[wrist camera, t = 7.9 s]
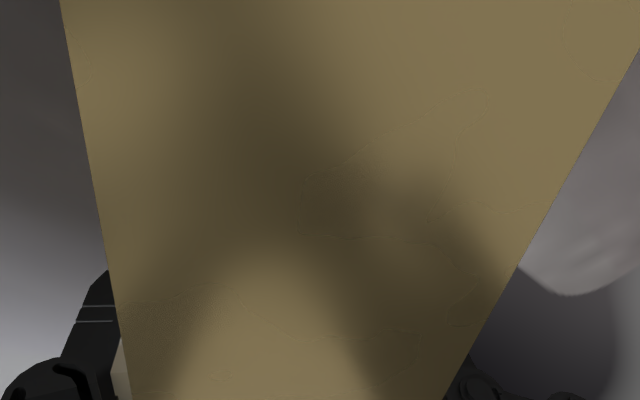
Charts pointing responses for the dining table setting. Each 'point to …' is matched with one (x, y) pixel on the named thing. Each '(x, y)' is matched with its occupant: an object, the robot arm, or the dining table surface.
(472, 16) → the bar
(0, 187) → the dining table surface
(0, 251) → the dining table surface
